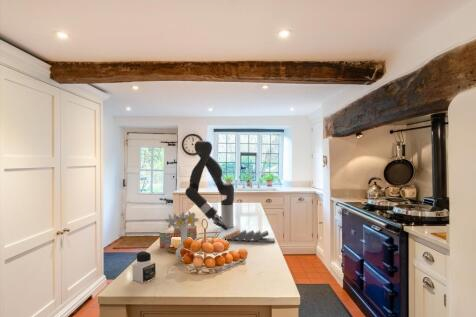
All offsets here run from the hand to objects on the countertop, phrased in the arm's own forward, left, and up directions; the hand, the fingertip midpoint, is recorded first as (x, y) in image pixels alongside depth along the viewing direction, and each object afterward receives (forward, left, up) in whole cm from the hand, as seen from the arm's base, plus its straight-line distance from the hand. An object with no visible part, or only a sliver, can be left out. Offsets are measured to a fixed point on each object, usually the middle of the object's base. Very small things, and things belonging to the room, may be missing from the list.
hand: (226, 229), depth 183 cm
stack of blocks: (+23, -22, -7) cm, 32 cm away
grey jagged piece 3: (-1, +8, -6) cm, 10 cm away
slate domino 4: (-4, +21, -6) cm, 22 cm away
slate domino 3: (-2, +13, -6) cm, 14 cm away
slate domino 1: (-1, +3, -6) cm, 7 cm away
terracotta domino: (0, -1, -6) cm, 6 cm away
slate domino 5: (-3, +17, -6) cm, 19 cm away
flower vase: (+39, -8, -7) cm, 41 cm away
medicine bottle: (+66, -11, -7) cm, 68 cm away
